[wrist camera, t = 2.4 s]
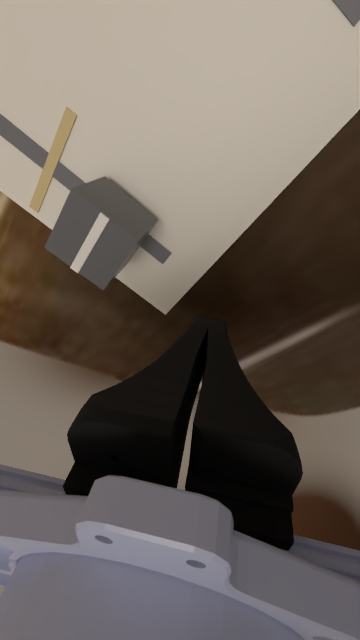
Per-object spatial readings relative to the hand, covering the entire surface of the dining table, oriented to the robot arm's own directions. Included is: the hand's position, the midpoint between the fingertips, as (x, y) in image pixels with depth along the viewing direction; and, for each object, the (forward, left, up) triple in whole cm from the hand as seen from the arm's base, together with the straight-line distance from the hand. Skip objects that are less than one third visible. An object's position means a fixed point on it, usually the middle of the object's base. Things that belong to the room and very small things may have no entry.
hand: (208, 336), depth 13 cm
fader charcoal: (+6, 0, -3) cm, 7 cm away
